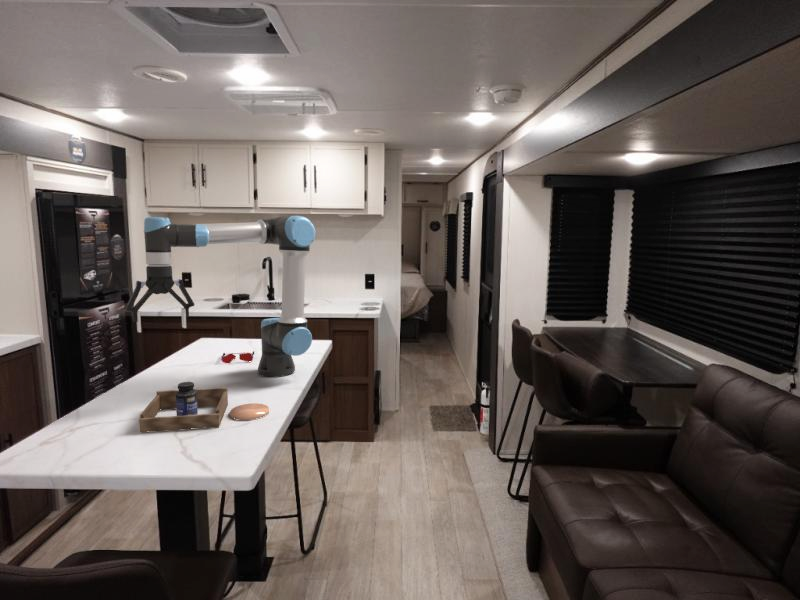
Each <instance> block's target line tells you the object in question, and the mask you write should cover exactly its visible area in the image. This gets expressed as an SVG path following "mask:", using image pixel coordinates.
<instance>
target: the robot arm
mask: <svg viewBox="0 0 800 600" xmlns="http://www.w3.org/2000/svg"><path fill="white" fill-rule="evenodd" d="M143 225H144V226H143V233H144V234H143V235H144V244H145V245H144V246H145V247H144V249H145V263H146V265H147V266H146V267H145V269H146V270H145V271H146V279H145V281H142V280H141V281H140V280H136V281H135V288H134V289H133V292H132V294H131V296H130V298H129V300H128V302H127V304H126V306H125V309H126V311H128V312H131V313H132V321H133V322H134V323H136V330H137V333H142V321H141V311H139V310H140V309H141V307H142V306H143V305H144V304H145V303H146V302H147V300H148V299H150V297H151V296H152V295H153V294H154V295H160V294H164V295H165V294H168V293H169V294H170V295H171V296H172V297H173V298H174V299H175V300H176V301H177V302H178V303H179V304H180V305H182V307H181V308H180V310H181V311H180V312H181V327H182V328H183V329H187V318H190V308H192V307H194V306H195V302H194V300H193V299H192V297H191V296H190V294H189V293H188V291H187V289H186V287H185V285H184V280H183V279H181V278H178V279H175V280H174V279H173V266H172V263H173V260H172V247H173V248H177V247H178V248H179V247H181V248H189V247H190V248H200V247H201V248H202V247H207V246H208V245H218V244H238V243H239V244H240V243H256V242H258V243H259V244H260V245H265V244H266V245H267V244H268V245H278V252H280V253H281V254H282V275H281V277H282V279H281V280H282V283H281V316H280V317H271V318H264V319H262V320H261V322H260V323H261V325H260V332H261V334H260V336H261V357H260V360H259V364H258V367H257V374H258V373H259V374H260V375H259V374H258V375H259V376H262V375H263V376H262V377H267V376H279V377H283V376H282V375H286V376H289V375H288V374H290V375H292V374H294V373H295V372H296V364H295V363H294V359H293V357H294V356H301V355H303V354H305V353H306V352H307V351H308V350H309V349H310V347H311V345H312V342H313V336H312V333H311V331H310V330H309V329H308V319H307V318H306V317H305V315H304V314H305V311H304V310H305V281H306V256H307V255H308V254H309V253H310V250H311V248H310V247H311V245H312V243H314V241H315V238H316V228H315V226H314V224H313V222H311V220H310V219H309V218H307V217H306V216H302V215H288V216H284V215H283V216H277V217H273V218H266V219H265V218H264V219H258V220H257V221H253V222H251V221H250V222H249V221H248V222H222V223H221V222H219V223H192V224H191V223H188V224H187V223H186V224H185V223H183V224H182V223H177V224H176V223H171V221H170V218H169V217H162V216H161V217H158V216H154V217H153V216H149V217H145V218H144V221H143ZM174 285H176V286H177V287H178V289H179V290H180V291H181V293H182V295H183V297H184V298H185V300H186V302H187V303H186V302H185V300H183V299H182V297H180V296H179V294H177V293H176V291H175V290H174V289H173V288H172V287H174ZM144 286H146V287H147V290H146V292H145V293H144V294H143V295H142V296H141V298H140V299H139V300H138V301H137V303H136V304H135V302H136V300H137V298H138V296H139V294H140V291H141V289H143V288H144ZM134 304H135V305H134ZM294 371H295V372H294ZM293 372H294V373H293ZM291 373H292V374H291Z"/></svg>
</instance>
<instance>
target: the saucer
mask: <svg viewBox="0 0 800 600" xmlns="http://www.w3.org/2000/svg"><path fill="white" fill-rule="evenodd" d="M229 411H230V412H229V413H230V418H231V417H232V418H231V419H233V418H235V419H234V420H236V419H240V420H239V421H251V420H250V419H255V420H257V419H256V418H259V419H261V418H260V417H262V418H264V417H266V416H267V414H268V415H269V414H270V413H269V412H270V407H269V406H268V405H267V404H263V403H256V402H255V403H246V404H245V403H244V404H240V405H237V406H234V407H233V408H231V410H229ZM265 415H266V416H265ZM263 416H264V417H263Z"/></svg>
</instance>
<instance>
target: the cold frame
mask: <svg viewBox="0 0 800 600" xmlns="http://www.w3.org/2000/svg"><path fill="white" fill-rule="evenodd" d="M193 389H194V390H196V392H197V408H204V407H206V408H207V407H216V408H215V413H204V414H201V413H200V414H198V415H184V416H177V415H172V416H171V415H169V416H157V415H158V414H159V412H160V411H161V410H172V409H173V408H176V393H177V392H178V391H179V389H174V390H173V389H172V390H156V394H155V396H154V398H153V399H152V400H151V401H150V402H149V404H148V405H147V406H146V407H145V408H144V410H142V412H141V413H140V414H139V419H138V423H139V433H140V432H142V433H148V432H147V431H157V432H166V431H165V430H171V431H181V430H180V429H186V430H192V429H191V428H200V429H205V428H204V427H215V428H220V427H219V426H221V423H222V422H221V421H223V419H224V416H225V414H224V413H226V410H227V408H228V405H229V400H228V398H229V396H228V387H212V388H193ZM160 409H161V410H160ZM157 413H158V414H157Z"/></svg>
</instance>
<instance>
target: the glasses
mask: <svg viewBox="0 0 800 600" xmlns="http://www.w3.org/2000/svg"><path fill="white" fill-rule="evenodd" d="M224 355H225V356H224ZM236 355H239V357H238V358H239V360H240V361H244V362H247V363H250V362H249V361H251V362H253V360H254V355H255V351H254V350H253V351H252V352H244V353H241V352H237V353H236V352H235V353H234V352H233V353H232V352H231V353H226V352H223V353H222V356H221V358H220V361H221V362H222V363H223V364H224V363H225V364H226V363H229V364H231V362H233V361H235V360H236V358H237V356H236Z"/></svg>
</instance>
